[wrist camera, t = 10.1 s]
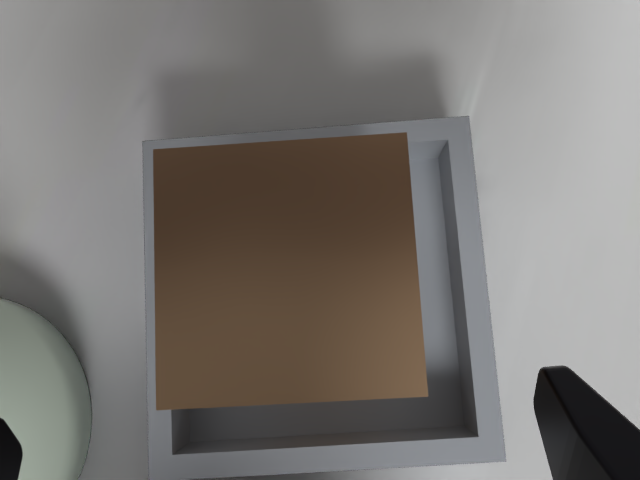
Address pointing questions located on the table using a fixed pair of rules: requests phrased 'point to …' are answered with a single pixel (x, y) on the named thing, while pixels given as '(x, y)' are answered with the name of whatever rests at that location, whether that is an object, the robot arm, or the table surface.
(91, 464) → the table surface
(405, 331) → the block
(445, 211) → the tray
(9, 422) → the crank wheel
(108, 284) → the table surface
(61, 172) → the table surface
